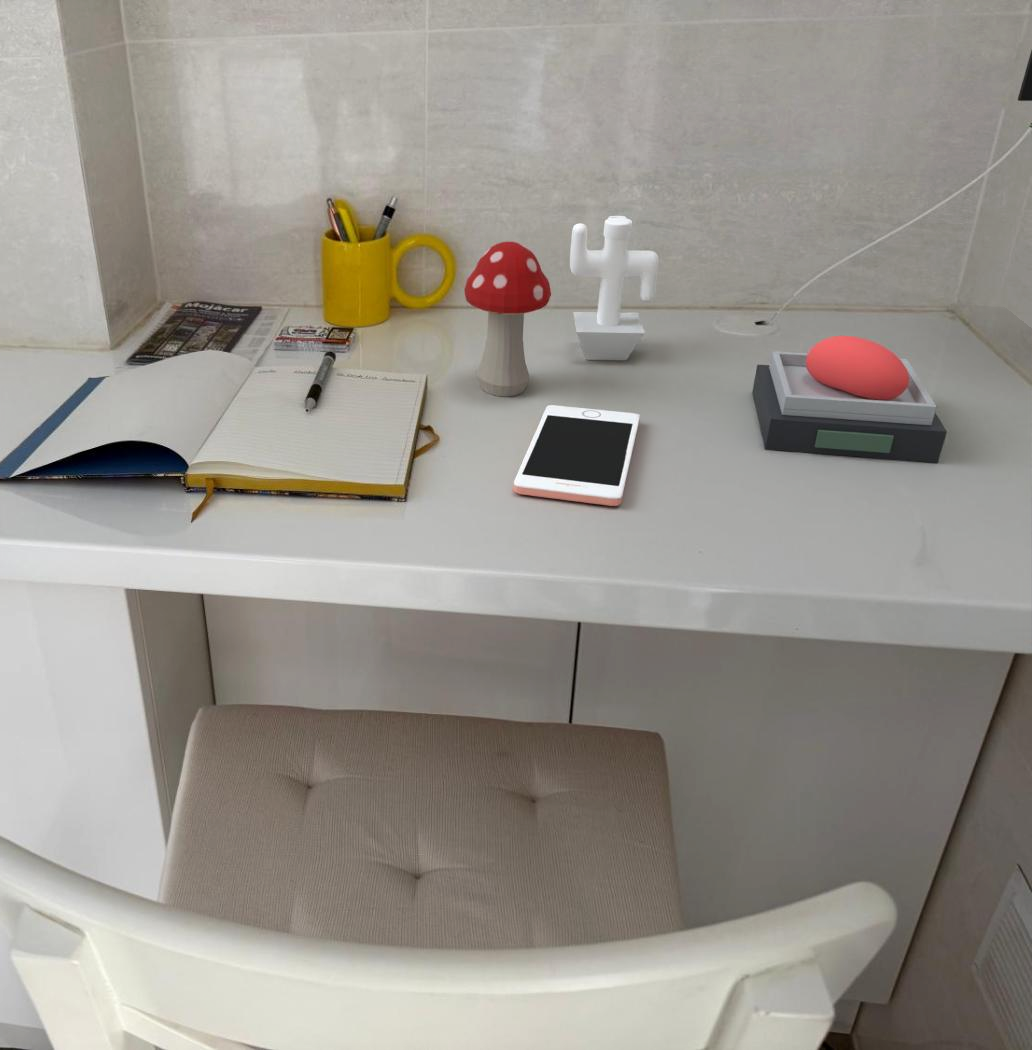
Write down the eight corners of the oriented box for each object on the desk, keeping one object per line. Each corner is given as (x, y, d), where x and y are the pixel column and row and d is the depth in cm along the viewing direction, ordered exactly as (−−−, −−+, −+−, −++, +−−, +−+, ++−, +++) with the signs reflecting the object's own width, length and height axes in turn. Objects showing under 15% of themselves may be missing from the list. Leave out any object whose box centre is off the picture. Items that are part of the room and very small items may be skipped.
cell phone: (639, 422, 95) (640, 413, 95) (620, 508, 80) (621, 497, 80) (546, 412, 98) (547, 403, 97) (511, 494, 83) (512, 484, 83)
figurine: (651, 365, 109) (669, 226, 101) (563, 363, 110) (575, 226, 103) (643, 343, 115) (660, 210, 107) (560, 342, 116) (571, 211, 109)
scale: (904, 402, 97) (916, 355, 95) (938, 464, 86) (953, 413, 83) (752, 392, 101) (760, 347, 99) (765, 450, 89) (774, 401, 87)
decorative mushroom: (554, 401, 101) (566, 253, 93) (470, 406, 100) (475, 257, 93) (532, 367, 109) (541, 229, 102) (454, 371, 109) (458, 233, 102)
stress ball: (841, 424, 88) (896, 370, 84) (782, 359, 93) (831, 305, 90) (874, 430, 91) (928, 378, 87) (814, 366, 96) (863, 315, 92)
